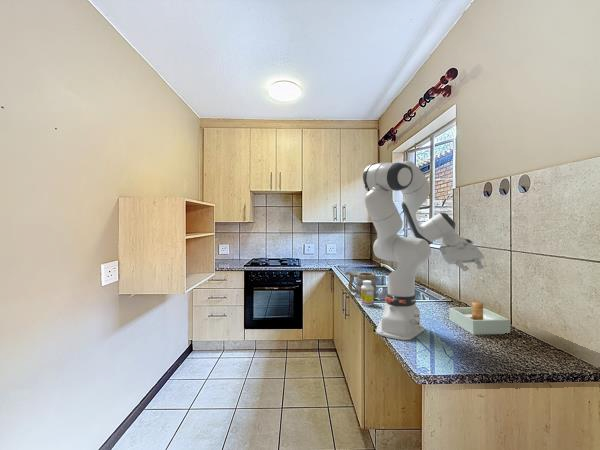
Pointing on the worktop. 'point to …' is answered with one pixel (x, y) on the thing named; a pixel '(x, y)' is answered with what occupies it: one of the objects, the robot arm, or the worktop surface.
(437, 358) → the worktop surface
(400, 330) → the robot arm
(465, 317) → the bore box
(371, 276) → the tankard
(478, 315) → the peg
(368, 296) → the supplement bottle
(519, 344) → the worktop surface
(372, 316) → the worktop surface
